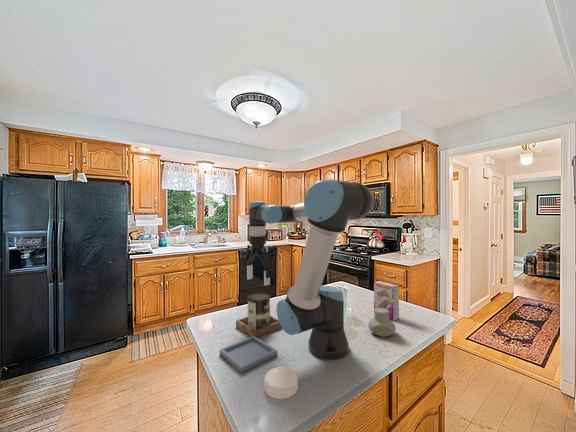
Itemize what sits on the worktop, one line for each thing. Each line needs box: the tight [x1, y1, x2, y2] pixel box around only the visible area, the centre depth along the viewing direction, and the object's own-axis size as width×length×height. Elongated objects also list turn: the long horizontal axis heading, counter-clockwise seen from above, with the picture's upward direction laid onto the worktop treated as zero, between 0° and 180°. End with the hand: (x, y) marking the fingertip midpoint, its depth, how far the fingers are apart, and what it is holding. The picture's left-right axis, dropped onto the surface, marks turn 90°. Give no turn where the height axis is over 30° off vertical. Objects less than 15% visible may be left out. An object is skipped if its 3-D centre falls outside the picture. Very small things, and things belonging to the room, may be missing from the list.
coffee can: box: [246, 292, 271, 330], centre depth 113 cm, size 10×10×14 cm
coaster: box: [263, 366, 299, 400], centre depth 73 cm, size 10×10×4 cm
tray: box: [219, 336, 278, 375], centre depth 90 cm, size 15×15×2 cm
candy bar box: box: [373, 280, 400, 322], centre depth 123 cm, size 11×5×16 cm, turn 34°
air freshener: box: [368, 308, 396, 338], centre depth 106 cm, size 11×8×10 cm
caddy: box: [235, 315, 282, 339], centre depth 113 cm, size 15×15×3 cm
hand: (258, 281), depth 113 cm, fingers open, 13 cm apart
